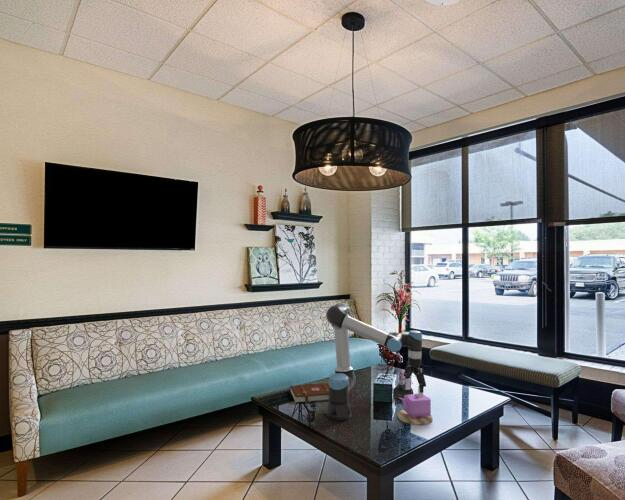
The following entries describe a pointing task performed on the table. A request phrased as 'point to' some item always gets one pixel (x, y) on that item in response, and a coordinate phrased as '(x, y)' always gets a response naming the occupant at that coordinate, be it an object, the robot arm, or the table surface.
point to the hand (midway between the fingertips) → (414, 393)
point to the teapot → (417, 405)
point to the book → (310, 392)
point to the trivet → (409, 420)
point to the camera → (401, 391)
